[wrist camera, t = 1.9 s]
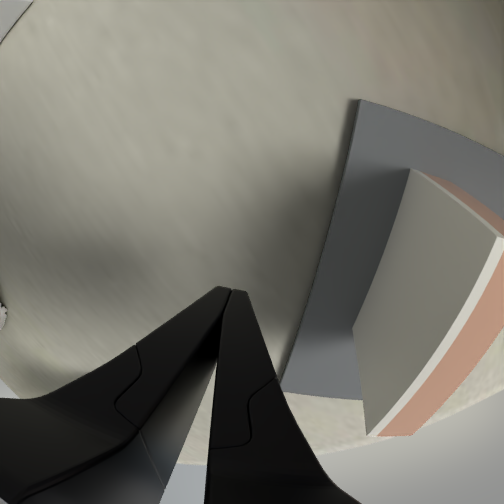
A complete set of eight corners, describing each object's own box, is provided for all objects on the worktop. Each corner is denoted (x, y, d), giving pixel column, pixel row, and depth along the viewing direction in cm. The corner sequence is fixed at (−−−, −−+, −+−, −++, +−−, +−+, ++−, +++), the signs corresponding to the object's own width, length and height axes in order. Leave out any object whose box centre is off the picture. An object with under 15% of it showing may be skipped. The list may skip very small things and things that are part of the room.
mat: (438, 397, 17) (439, 401, 16) (278, 385, 17) (278, 390, 17) (555, 188, 9) (559, 190, 9) (358, 99, 10) (361, 99, 9)
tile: (387, 333, 14) (411, 435, 9) (352, 328, 14) (366, 436, 9) (451, 182, 10) (542, 253, 5) (410, 168, 10) (497, 236, 5)
